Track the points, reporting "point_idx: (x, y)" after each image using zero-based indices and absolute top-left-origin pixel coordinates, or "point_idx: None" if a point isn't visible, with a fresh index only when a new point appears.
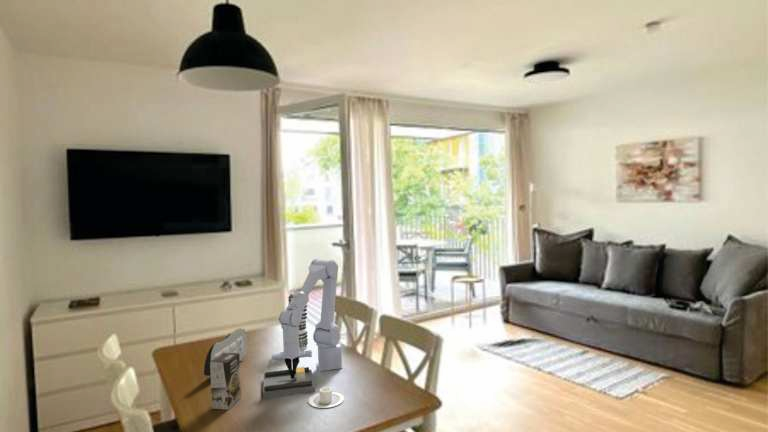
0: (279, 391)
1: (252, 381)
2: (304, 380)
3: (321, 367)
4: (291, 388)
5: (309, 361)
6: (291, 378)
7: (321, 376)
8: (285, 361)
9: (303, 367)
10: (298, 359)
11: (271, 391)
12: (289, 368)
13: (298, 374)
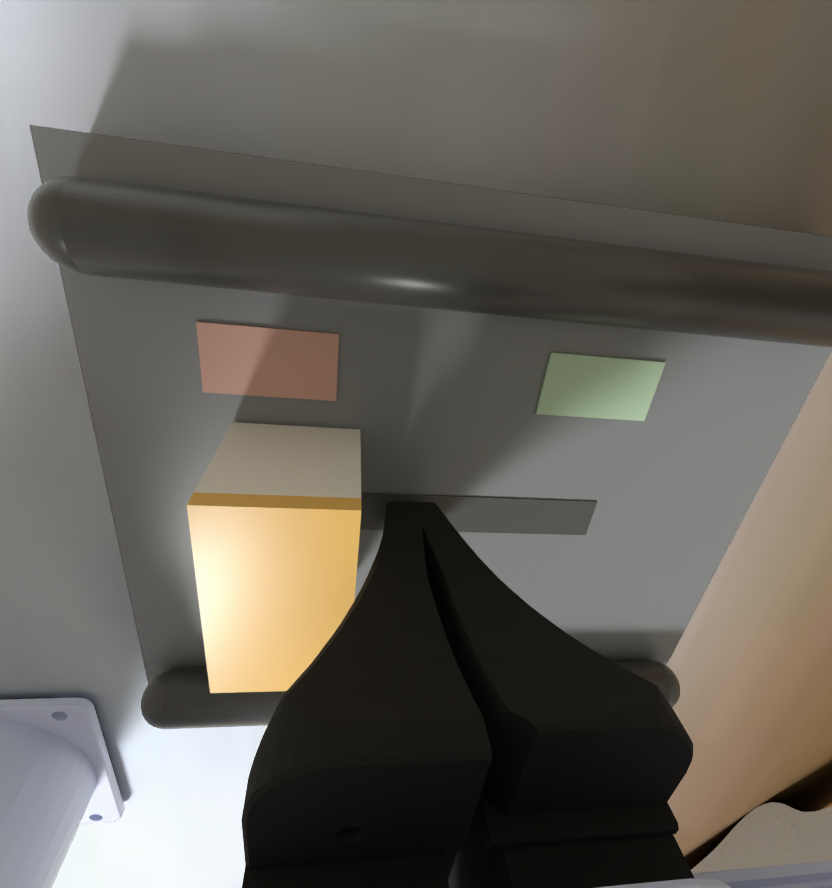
0: (664, 214)
1: (713, 650)
2: (241, 427)
3: (50, 743)
4: (478, 223)
5: (199, 849)
6: (431, 505)
7: (46, 590)
8: (656, 796)
9: (217, 676)
10: (270, 842)
11: (775, 243)
12: (509, 608)
13: (326, 487)
